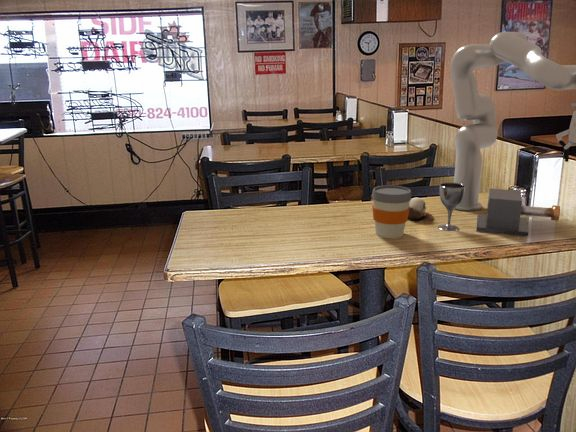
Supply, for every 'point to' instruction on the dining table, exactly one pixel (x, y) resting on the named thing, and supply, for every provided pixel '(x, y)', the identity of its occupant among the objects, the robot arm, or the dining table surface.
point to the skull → (418, 211)
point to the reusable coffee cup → (390, 210)
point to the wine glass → (451, 201)
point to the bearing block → (503, 214)
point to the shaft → (542, 212)
